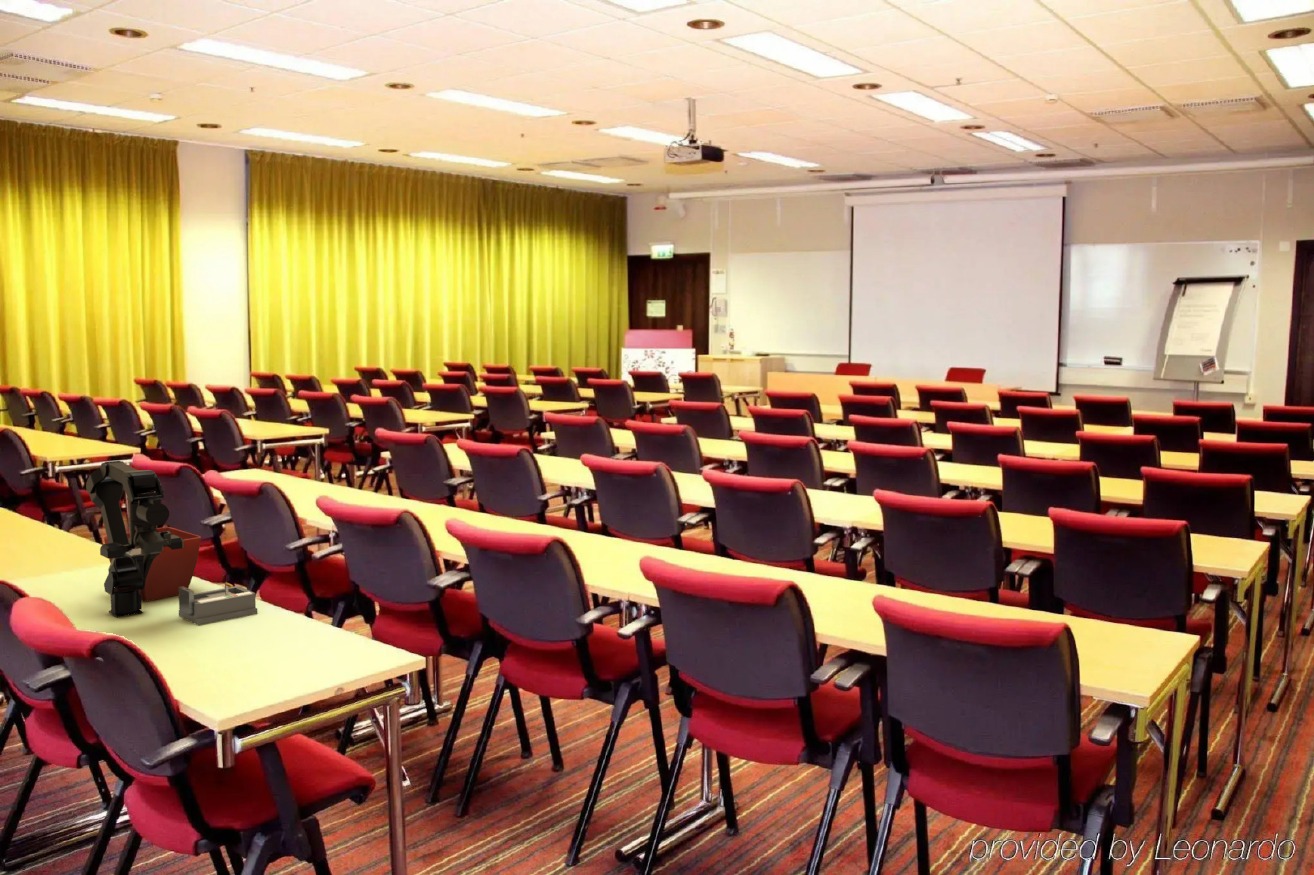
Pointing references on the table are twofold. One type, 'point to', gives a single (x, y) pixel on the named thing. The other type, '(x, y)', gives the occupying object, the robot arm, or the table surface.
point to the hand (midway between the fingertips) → (143, 579)
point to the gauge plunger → (188, 599)
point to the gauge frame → (222, 606)
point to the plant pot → (170, 567)
